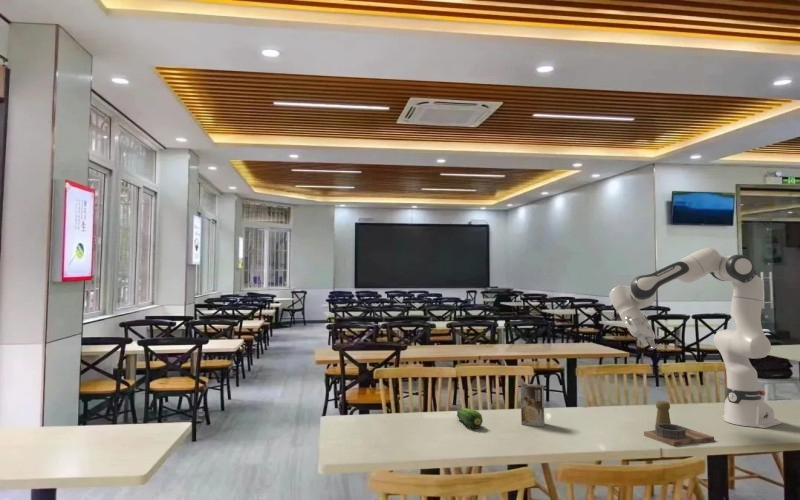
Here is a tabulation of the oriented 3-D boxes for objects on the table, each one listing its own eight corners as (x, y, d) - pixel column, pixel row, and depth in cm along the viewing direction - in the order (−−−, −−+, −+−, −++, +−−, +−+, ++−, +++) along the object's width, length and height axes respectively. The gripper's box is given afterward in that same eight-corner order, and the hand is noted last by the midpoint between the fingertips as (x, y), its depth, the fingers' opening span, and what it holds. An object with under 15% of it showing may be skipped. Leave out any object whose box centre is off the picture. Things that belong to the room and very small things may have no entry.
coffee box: (545, 423, 220) (544, 384, 221) (543, 427, 215) (542, 387, 215) (523, 420, 224) (522, 383, 225) (520, 424, 218) (520, 385, 219)
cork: (673, 431, 210) (673, 403, 210) (657, 430, 211) (656, 402, 211) (669, 426, 215) (668, 400, 216) (653, 426, 217) (652, 399, 217)
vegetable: (472, 409, 210) (456, 399, 229) (465, 426, 209) (449, 414, 228) (488, 417, 211) (470, 405, 230) (480, 433, 210) (464, 421, 229)
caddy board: (683, 430, 210) (682, 419, 210) (714, 440, 197) (713, 428, 197) (644, 435, 203) (643, 423, 204) (673, 446, 190) (673, 433, 190)
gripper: (630, 311, 219) (648, 340, 212) (648, 318, 233) (665, 345, 226) (617, 319, 222) (634, 347, 215) (635, 325, 236) (652, 352, 229)
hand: (650, 346), depth 220 cm, fingers open, 8 cm apart
